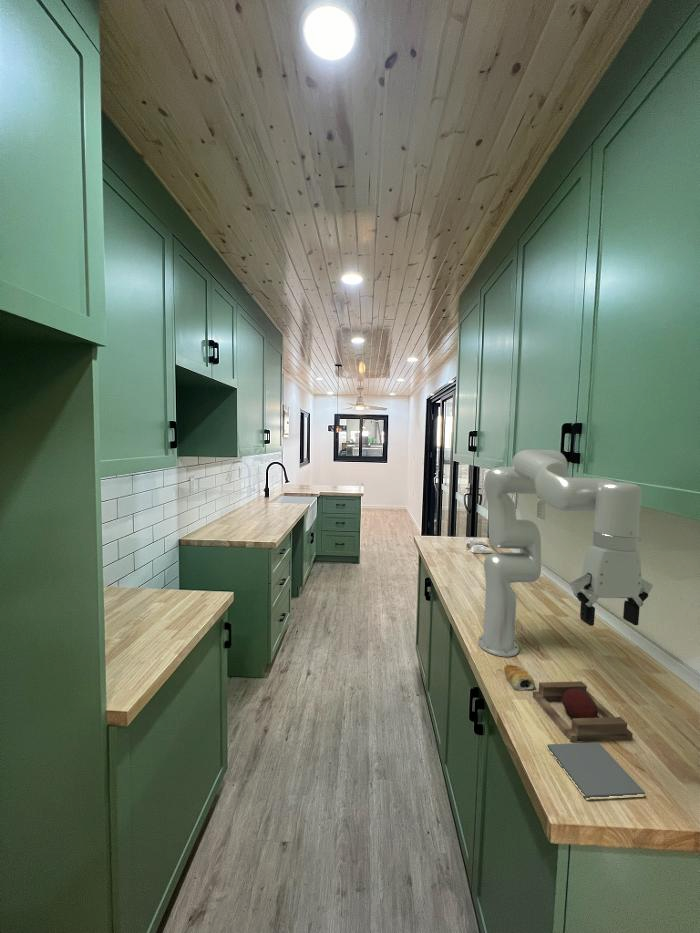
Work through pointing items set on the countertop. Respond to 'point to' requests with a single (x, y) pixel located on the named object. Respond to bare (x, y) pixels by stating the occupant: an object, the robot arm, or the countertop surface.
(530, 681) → the pastry
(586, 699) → the potato
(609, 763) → the mat
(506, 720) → the countertop surface
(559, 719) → the holder
